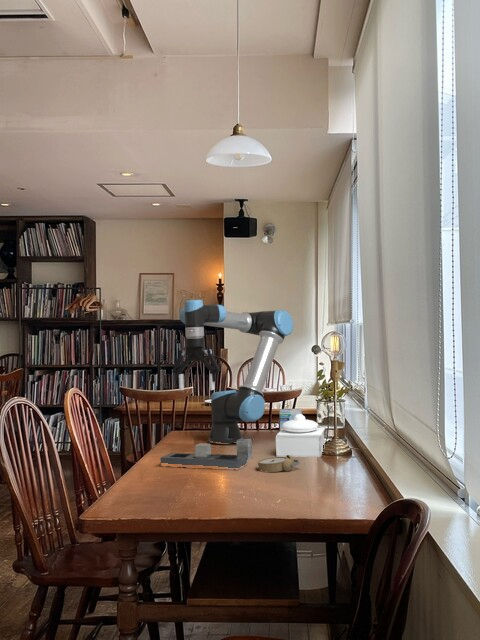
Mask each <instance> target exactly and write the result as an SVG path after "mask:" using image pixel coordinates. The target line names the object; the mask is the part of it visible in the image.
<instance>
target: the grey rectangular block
mask: <svg viewBox="0 0 480 640" xmlns="http://www.w3.org/2000/svg"><path fill="white" fill-rule="evenodd" d="M194 453H195V458H206V459H208V458H210V457H211V454H212V444H210V443H203V442H201V443H197V444H194Z"/></svg>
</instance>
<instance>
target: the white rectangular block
mask: <svg viewBox="0 0 480 640" xmlns="http://www.w3.org/2000/svg"><path fill="white" fill-rule="evenodd" d="M252 442H253V441H252V438H242V439H239V440H237V443H236V455H247V460H250V459H252V460H253V449H252V448H253V447H252Z"/></svg>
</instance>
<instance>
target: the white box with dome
mask: <svg viewBox="0 0 480 640" xmlns="http://www.w3.org/2000/svg"><path fill="white" fill-rule="evenodd" d="M281 427H282V428H283V429H282V430H281V431H280V430H279V432H277V434H276V436H275V449H276V452H275V453H276V454H275V455H276V456H275V457H286V456H287V455H291V456H292V457H293V458H295V457H297V458H300V457H301V458H304V457H305V458H321V457H322V455H323V453H322V452H324V451H323V445H324V446H325V430H326V428H325V427H319V423H318V422H316V421H315V420H311V419H306V416H305V415H303V413H302V414H297V415H296V416H295V417H294V420H290V421H287V422H285V423H283V424H282V426H281Z"/></svg>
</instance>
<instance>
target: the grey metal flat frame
mask: <svg viewBox="0 0 480 640" xmlns="http://www.w3.org/2000/svg"><path fill="white" fill-rule="evenodd" d="M161 463H168V464H182V465H203V466H218V467H228V468H240V467H241V466H243V465H245V464H246V463H247V464H248V462H247V455H237V454H217V453H211V457H210V458H208V459H206V458H195V452H194V453H193V452H192V453H191V452H190V453H189V452H171V453H167V454H165V455H164V456H161V457H160V464H161Z"/></svg>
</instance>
